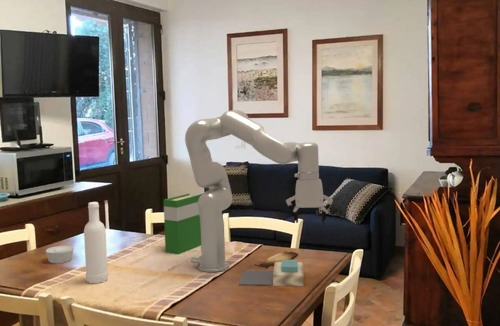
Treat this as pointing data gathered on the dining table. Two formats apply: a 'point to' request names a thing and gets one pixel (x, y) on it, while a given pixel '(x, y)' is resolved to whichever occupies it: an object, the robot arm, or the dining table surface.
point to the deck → (287, 276)
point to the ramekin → (59, 254)
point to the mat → (256, 277)
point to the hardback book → (182, 224)
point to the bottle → (95, 247)
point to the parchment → (278, 258)
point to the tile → (289, 266)
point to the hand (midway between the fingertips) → (310, 221)
